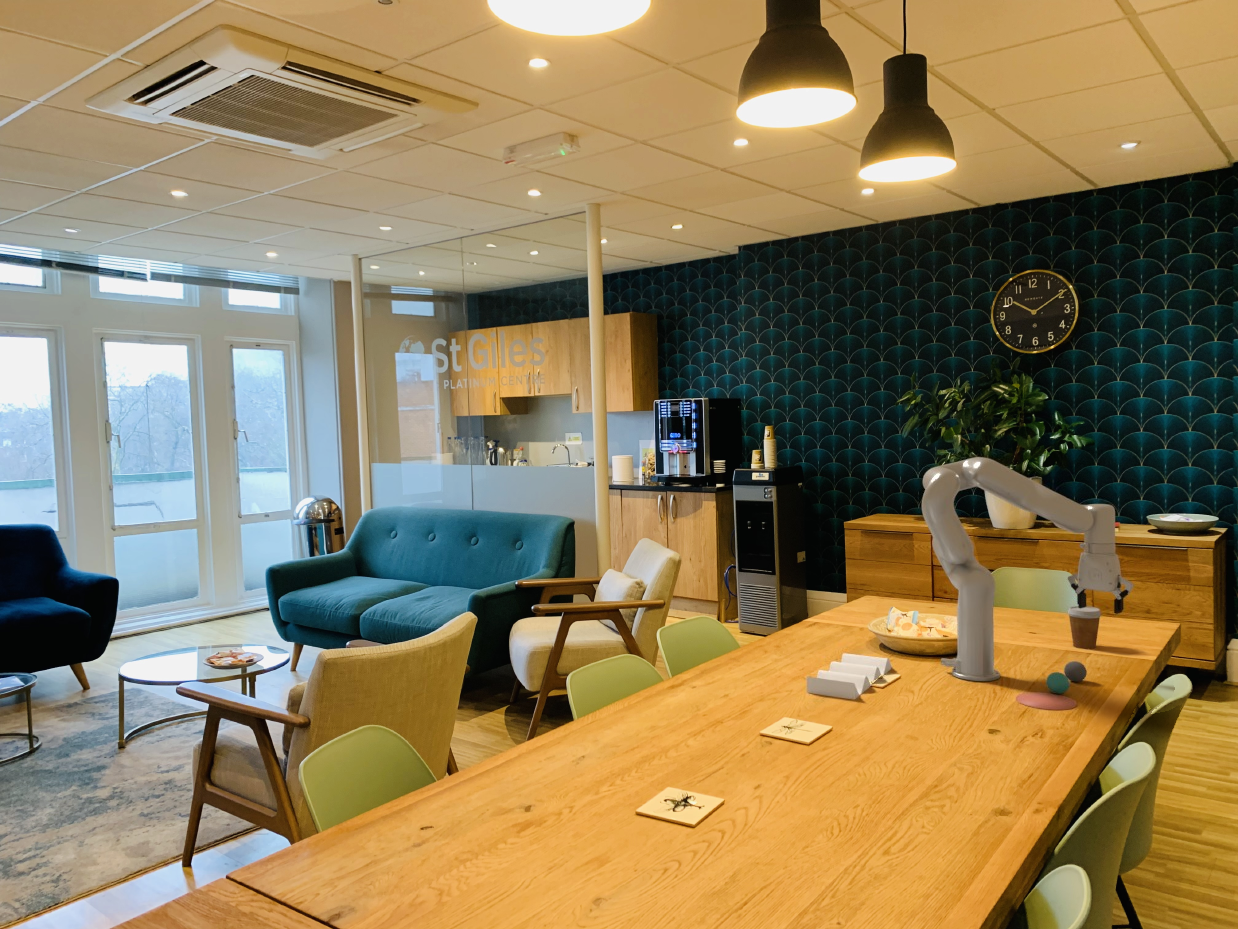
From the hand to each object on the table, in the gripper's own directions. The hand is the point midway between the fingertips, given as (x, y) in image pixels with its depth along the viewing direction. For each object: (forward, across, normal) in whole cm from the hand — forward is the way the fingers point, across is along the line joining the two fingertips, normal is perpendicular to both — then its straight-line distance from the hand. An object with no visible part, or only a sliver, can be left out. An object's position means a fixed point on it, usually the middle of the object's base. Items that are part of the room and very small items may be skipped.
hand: (1100, 610), depth 247 cm
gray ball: (+16, -2, -9) cm, 18 cm away
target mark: (+19, +1, -32) cm, 37 cm away
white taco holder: (+20, -44, -53) cm, 71 cm away
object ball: (+16, 0, -23) cm, 28 cm away
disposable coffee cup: (+19, -19, +30) cm, 40 cm away
